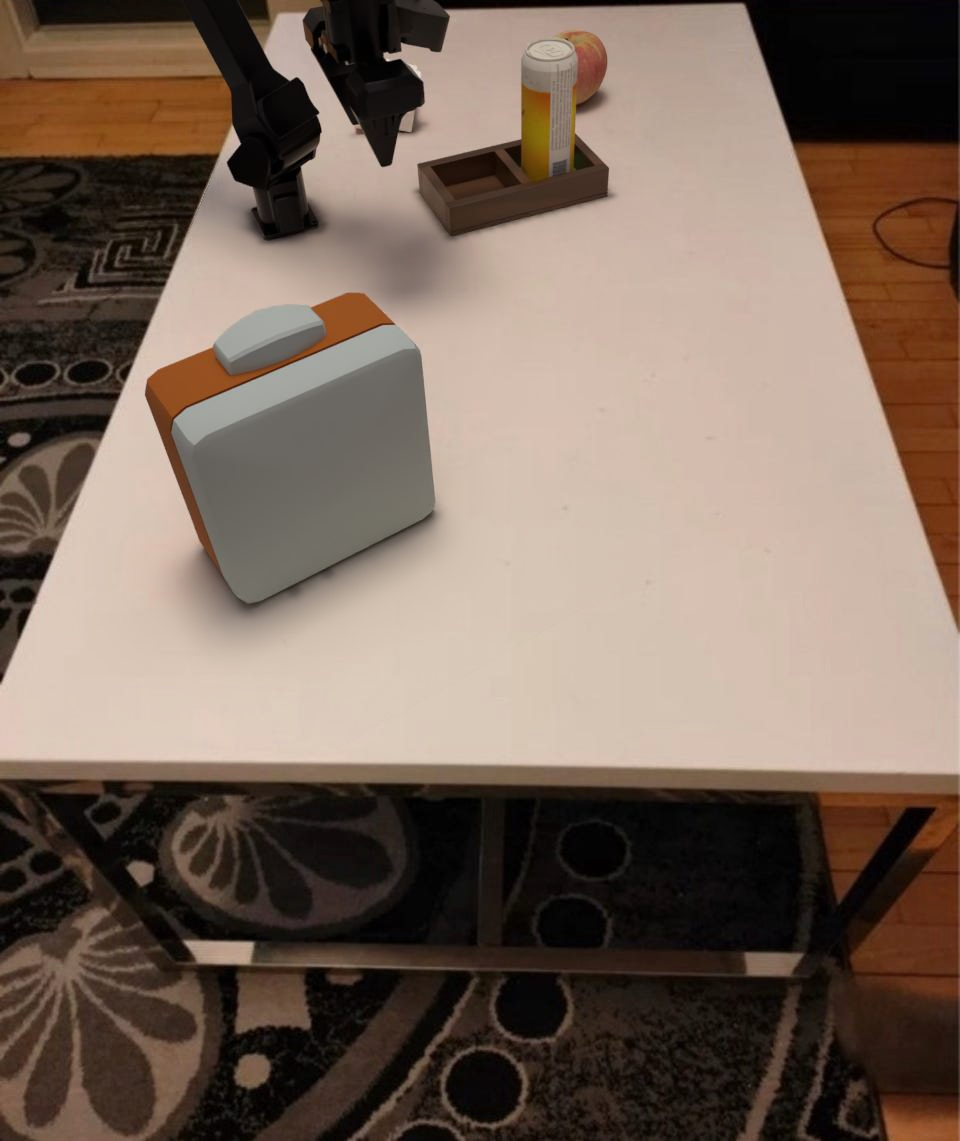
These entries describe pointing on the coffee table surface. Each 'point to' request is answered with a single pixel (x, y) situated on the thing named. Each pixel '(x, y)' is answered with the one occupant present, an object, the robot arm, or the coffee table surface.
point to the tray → (504, 186)
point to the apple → (587, 61)
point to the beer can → (548, 107)
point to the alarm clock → (297, 439)
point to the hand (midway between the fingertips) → (371, 144)
